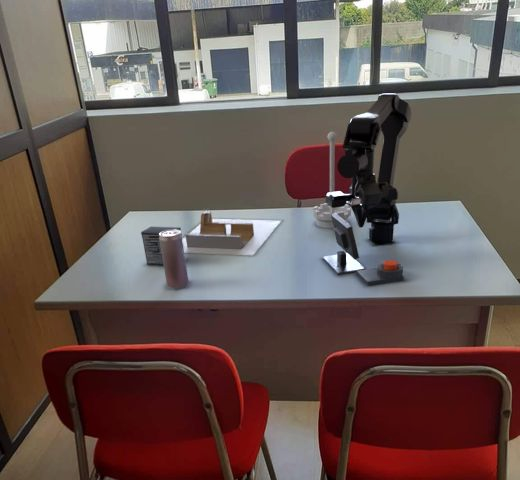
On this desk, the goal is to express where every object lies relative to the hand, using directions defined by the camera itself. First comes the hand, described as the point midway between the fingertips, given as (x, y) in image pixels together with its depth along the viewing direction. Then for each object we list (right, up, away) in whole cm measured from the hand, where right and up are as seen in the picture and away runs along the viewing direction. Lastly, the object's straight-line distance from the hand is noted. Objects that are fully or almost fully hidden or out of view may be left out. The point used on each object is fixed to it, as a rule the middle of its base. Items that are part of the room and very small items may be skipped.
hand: (360, 227), depth 145 cm
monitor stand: (-3, -10, +5) cm, 11 cm away
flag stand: (-3, +10, +38) cm, 40 cm away
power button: (+7, -13, -7) cm, 16 cm away
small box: (-57, -7, +16) cm, 59 cm away
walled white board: (-39, +5, +34) cm, 52 cm away
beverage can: (-51, -16, 0) cm, 53 cm away
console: (+4, -15, -5) cm, 16 cm away
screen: (-3, -6, +3) cm, 8 cm away
